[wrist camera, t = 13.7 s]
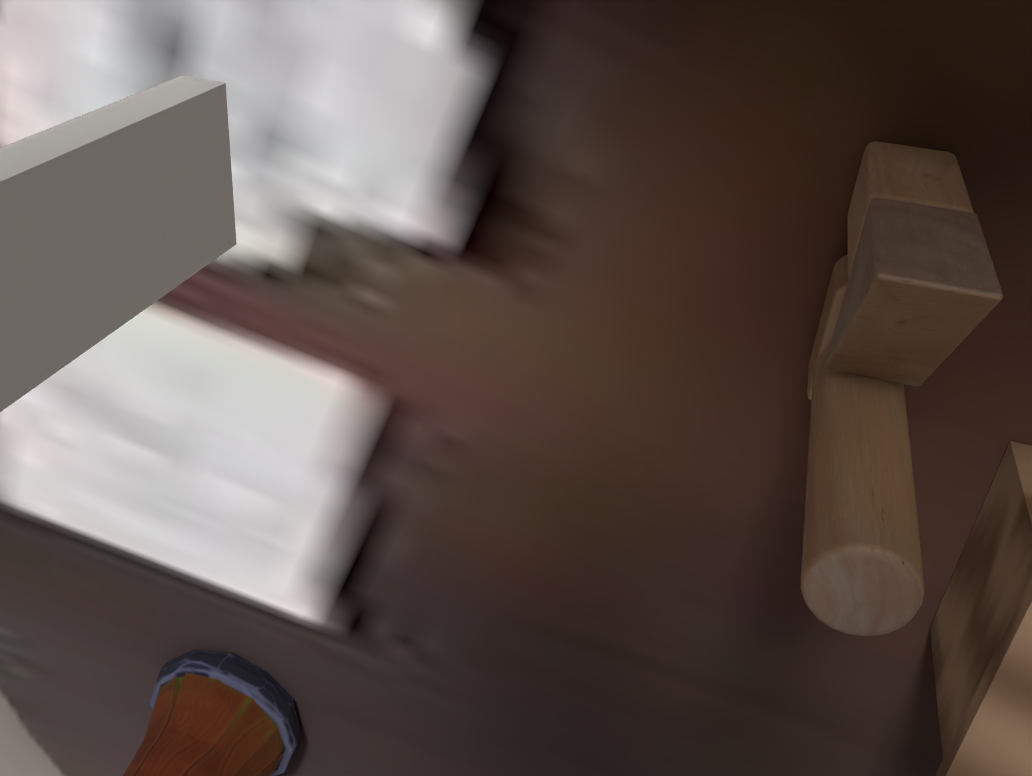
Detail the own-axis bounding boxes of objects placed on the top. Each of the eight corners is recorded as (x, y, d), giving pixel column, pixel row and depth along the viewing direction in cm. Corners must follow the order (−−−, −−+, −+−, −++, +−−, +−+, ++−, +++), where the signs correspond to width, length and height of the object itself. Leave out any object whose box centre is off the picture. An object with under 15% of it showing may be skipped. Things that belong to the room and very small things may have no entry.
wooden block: (959, 150, 40) (1027, 356, 25) (887, 379, 45) (908, 658, 30) (864, 136, 40) (876, 328, 25) (806, 363, 46) (787, 628, 31)
